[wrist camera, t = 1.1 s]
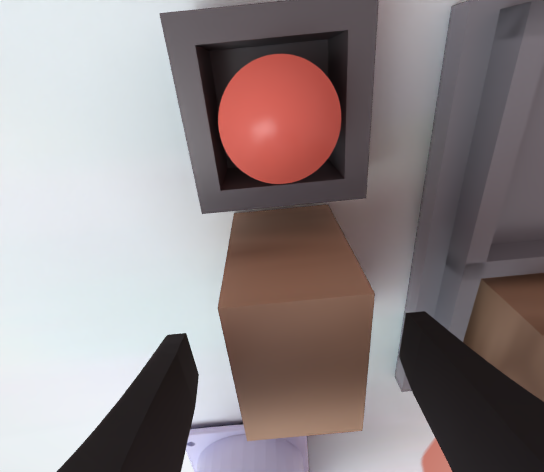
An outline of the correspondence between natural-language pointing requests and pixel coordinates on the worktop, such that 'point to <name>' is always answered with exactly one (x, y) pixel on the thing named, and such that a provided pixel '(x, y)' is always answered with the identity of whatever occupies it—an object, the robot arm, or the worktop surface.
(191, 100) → the button housing
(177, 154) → the worktop surface
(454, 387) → the robot arm
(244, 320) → the block
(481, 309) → the block
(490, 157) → the grey divided tray
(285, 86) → the button cap
